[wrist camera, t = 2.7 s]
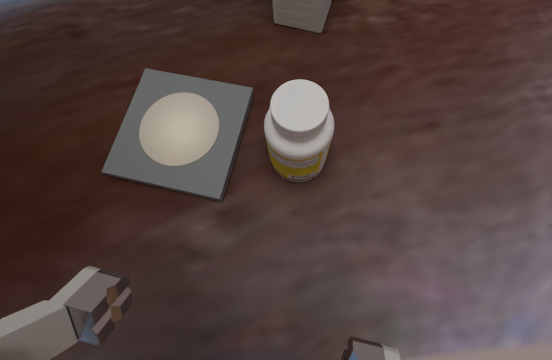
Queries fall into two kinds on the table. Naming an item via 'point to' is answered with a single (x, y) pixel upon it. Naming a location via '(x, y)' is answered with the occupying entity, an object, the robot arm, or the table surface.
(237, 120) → the board
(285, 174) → the supplement bottle
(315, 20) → the skincare box
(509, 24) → the table surface
